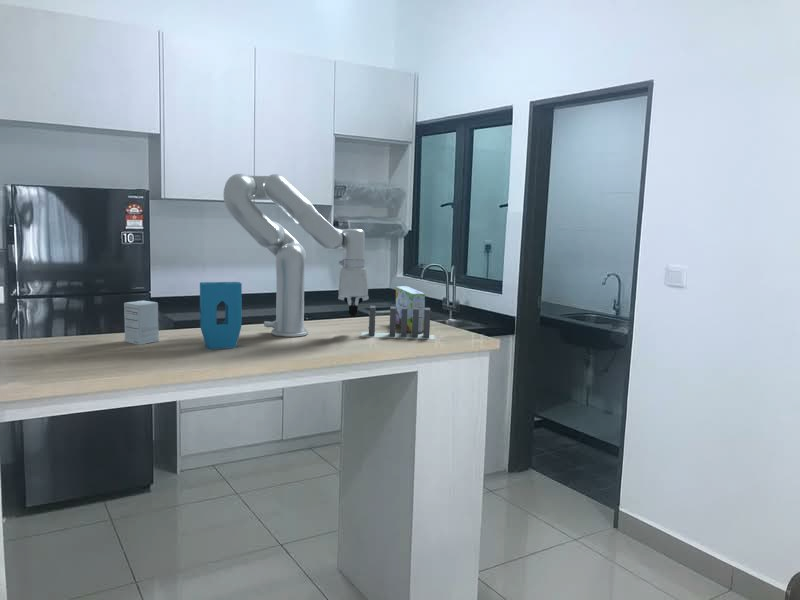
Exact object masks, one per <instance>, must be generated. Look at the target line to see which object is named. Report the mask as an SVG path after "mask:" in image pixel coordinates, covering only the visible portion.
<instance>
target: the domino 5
mask: <svg viewBox="0 0 800 600" xmlns="http://www.w3.org/2000/svg"><path fill="white" fill-rule="evenodd" d="M423 316H424V326H423V332H422V334H423V338H429V335H430V331H431V329H430V328H431V308H430V307H425V308H424V315H423Z"/></svg>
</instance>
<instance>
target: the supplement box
mask: <svg viewBox="0 0 800 600" xmlns="http://www.w3.org/2000/svg"><path fill="white" fill-rule="evenodd" d="M123 308H124V309H123V311H124V312H123V315H124V316H123V318H124V341H125V343H128V344H133V345H140V346H141V345H144V344H145V345H146V344H151V343H155V342H160V340H159V339H160V337H159V334H160V333H159V303H158V302H156V301H150V300H149V301H148V300H137V301H128V302H127V301H126V302H123Z"/></svg>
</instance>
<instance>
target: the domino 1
mask: <svg viewBox="0 0 800 600" xmlns="http://www.w3.org/2000/svg"><path fill="white" fill-rule="evenodd" d="M376 307H377V306H376V305H369V312H368V322H369V323H368V327H367V329H368V332H369V336H374V335H375V333H376Z"/></svg>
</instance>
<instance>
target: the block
mask: <svg viewBox="0 0 800 600" xmlns="http://www.w3.org/2000/svg"><path fill="white" fill-rule="evenodd" d="M242 285H243V283H242V282H240V281H220V282H219V281H215V282H214V281H212V282H211V281H210V282H209V281H207V282H206V281H205V282H199V326H200V331H201V334H202V337H203V342H204V344H205V347H206V348H207V349H208V350H216V349H234V348H236V347H237V344H238V340H239V337H240V334H241V330H242V315H243V314H242V313H243V311H242V302H243V301H242V299H243V298H242V297H243V296H242V288H243V287H242ZM221 302H223V303H224V321H222V323H218V322H217V320H218V319H217V317H218V316H217V310H218V309H217V307H218V305H219V304H220V303H221Z"/></svg>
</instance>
